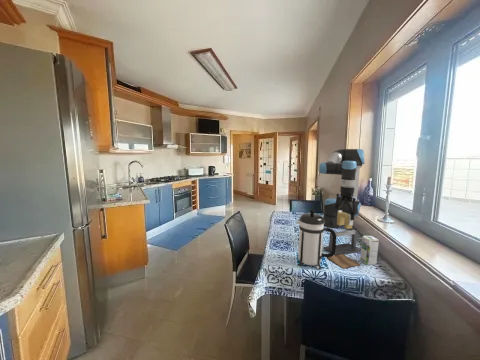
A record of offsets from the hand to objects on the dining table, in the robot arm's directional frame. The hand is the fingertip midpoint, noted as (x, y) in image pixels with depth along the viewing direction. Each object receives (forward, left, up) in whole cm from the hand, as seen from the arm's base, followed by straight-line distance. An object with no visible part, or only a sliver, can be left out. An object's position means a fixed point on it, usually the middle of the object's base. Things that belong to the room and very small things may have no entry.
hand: (344, 222), depth 126 cm
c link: (0, 0, -2) cm, 2 cm away
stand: (0, 0, -18) cm, 18 cm away
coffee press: (+29, +7, -18) cm, 35 cm away
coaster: (+11, +11, -18) cm, 24 cm away
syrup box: (-2, +16, -18) cm, 24 cm away
